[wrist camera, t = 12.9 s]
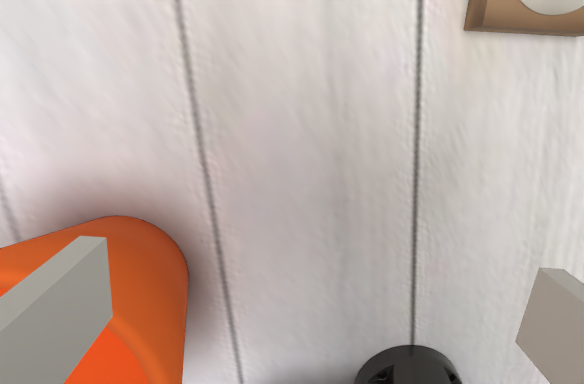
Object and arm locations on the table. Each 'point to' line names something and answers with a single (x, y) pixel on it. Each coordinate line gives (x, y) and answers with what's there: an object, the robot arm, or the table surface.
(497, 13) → the pedestal
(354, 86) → the table surface
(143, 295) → the flowerpot
